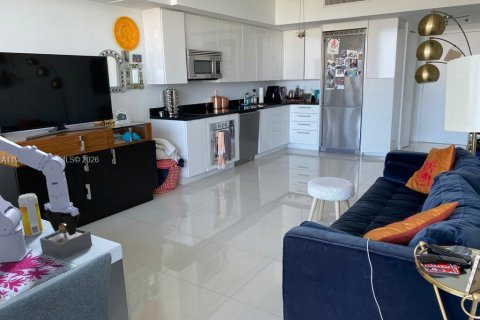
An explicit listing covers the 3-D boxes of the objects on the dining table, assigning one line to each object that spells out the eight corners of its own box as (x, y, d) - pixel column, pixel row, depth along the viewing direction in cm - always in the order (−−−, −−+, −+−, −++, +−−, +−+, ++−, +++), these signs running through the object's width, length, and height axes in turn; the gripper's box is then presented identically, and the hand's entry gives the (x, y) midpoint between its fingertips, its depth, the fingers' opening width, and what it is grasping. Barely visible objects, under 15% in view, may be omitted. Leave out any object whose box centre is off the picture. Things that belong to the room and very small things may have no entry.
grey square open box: (42, 252, 122) (39, 238, 121) (71, 238, 131) (69, 226, 130) (63, 259, 117) (61, 244, 115) (92, 244, 126) (90, 231, 125)
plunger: (47, 240, 121) (44, 227, 120) (68, 231, 128) (66, 218, 127) (63, 245, 118) (60, 231, 116) (84, 235, 124) (81, 222, 123)
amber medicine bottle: (39, 228, 141) (32, 191, 138) (46, 232, 138) (39, 194, 134) (22, 234, 137) (14, 196, 133) (28, 238, 133) (21, 199, 130)
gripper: (83, 192, 119) (89, 231, 122) (55, 187, 126) (61, 224, 129) (64, 199, 113) (71, 239, 116) (36, 193, 120) (42, 232, 123)
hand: (65, 232), depth 122 cm, fingers open, 7 cm apart
